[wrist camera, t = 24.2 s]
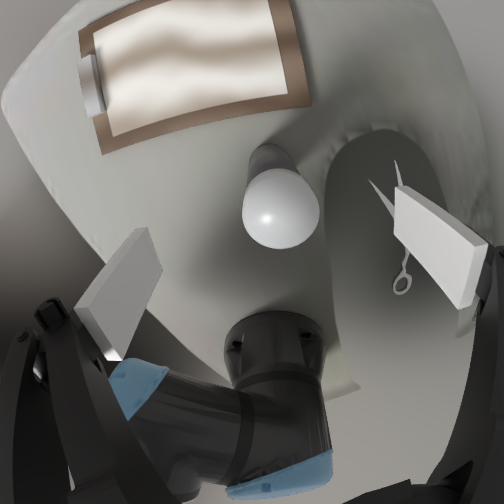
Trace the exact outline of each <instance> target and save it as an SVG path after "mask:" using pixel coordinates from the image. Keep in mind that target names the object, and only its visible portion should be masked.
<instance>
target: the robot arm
mask: <svg viewBox="0 0 504 504" xmlns="http://www.w3.org/2000/svg"><path fill="white" fill-rule="evenodd" d="M394 235H395V236H396V237H397V238H398V239H399V240H400V241H401V242H402V243H403V245H404V246H405V247H406V248H407V249H408V250H409V251H410V252H411V253H412V255H413V256H414V257H415V258H416V259H417V260H418V261H419V263H420V264H421V265H422V266H423V267H424V268H425V269H426V271H427V272H428V273H429V274H430V275H431V277H432V278H433V279H434V280H435V281H436V283H437V284H438V285H439V286H440V288H441V289H442V290H443V291H444V293H445V294H446V295H447V296H448V298H449V299H450V300H451V301H452V303H453V304H454V305H455V307H456V308H457V309H458V310H459V309H462V308H465V307H467V306H470V305H471V304H472V301H473V298H474V295H475V292H476V294H477V295H478V296H479V297H480V300H479V303H478V306H477V308H476V311H475V314H474V316H473V319H472V320H473V321H474V320H475V318H476V317H477V318H476V328H475V337H474V344H473V351H472V357H471V362H470V368H469V373H468V378H467V382H466V387H465V391H464V395H463V399H462V403H461V406H460V410H459V413H458V416H457V420H456V423H455V426H454V429H453V432H452V435H451V438H450V440H449V443H448V446H447V448H446V451H445V453H444V456H443V458H442V459H441V461H440V462H439V463H438V465H437V466H436V468H435V469H434V471H433V473H432V474H431V476H430V477H429V479H428V481H427V483H426V484H413V485H411V482H410V479H408V480H405V481H403V482H399V483H397V484H394V485H391V486H387V487H384V488H381V489H378V490H374V491H371V492H367V493H364V494H362V495H360V496H358V497H356V498H354V499H352V500H349V501H347V502H345V503H343V504H504V246H497V247H494V246H493V245H491V244H490V243H489V242H488V241H487V240H485V239H484V238H483V237H482V236H480V235H478V233H476V232H475V231H473V229H471V228H470V227H469V226H467V225H466V224H464V223H462V222H460V221H459V220H457V219H456V218H455V217H453V216H452V215H451V214H449V213H448V212H446V211H445V210H443V209H442V208H441V207H439V206H438V205H436V204H435V203H433V202H432V201H430V200H429V199H427V198H426V197H424V196H422V195H421V194H419V193H418V192H416V191H415V190H413V189H411V188H410V187H408V186H399V187H395V217H394ZM162 272H163V269H162V266H161V264H160V261H159V259H158V256H157V253H156V250H155V248H154V245H153V242H152V239H151V237H150V234H149V231H148V228H147V227H144V228H139V229H135V230H134V231H133V232H132V233H131V235H130V236H129V237H128V238H127V239H126V240H125V242H124V243H123V244H122V245H121V246H120V248H119V249H118V250H117V251H116V253H115V254H114V255H113V256H112V258H111V259H110V260H109V261H108V263H107V264H106V265H105V267H104V268H103V269H102V270H101V271H100V273H99V274H98V276H97V277H96V278H95V280H94V281H93V282H92V283H91V284H90V285H89V286H88V288H87V289H86V290H85V293H83V294H82V296H81V297H80V299H79V300H78V301H77V303H76V304H75V306H74V307H73V308H72V310H71V311H70V313H69V314H68V313H67V311H66V310H65V308H64V306H63V305H62V303H61V301H60V299H59V298H58V297H53V298H50V299H48V300H46V301H44V302H43V303H42V304H40V305H39V307H38V308H37V309H36V310H35V312H34V316H35V318H36V319H37V321H38V323H39V324H40V326H41V327H42V328H43V330H44V331H45V332H44V333H41V334H37V333H36V331H35V330H34V329H33V327H32V326H27V327H24V328H22V329H20V330H19V331H18V332H17V334H16V335H15V337H14V339H13V341H12V344H11V347H10V350H9V353H8V357H7V360H6V364H5V367H4V371H3V375H2V378H1V382H0V504H187V503H190V502H192V501H194V500H195V499H196V498H197V496H198V494H199V491H200V488H201V485H202V483H203V482H205V483H212V484H219V485H225V486H227V488H225V491H226V492H227V496H228V497H229V498H231V499H239V500H257V499H268V498H276V497H283V496H289V495H294V494H298V493H303V492H306V491H310V490H313V489H316V488H319V487H321V486H323V485H325V484H326V483H327V482H328V481H330V479H331V477H332V475H333V463H332V453H333V449H332V445H331V439H330V433H329V427H328V422H327V416H326V411H325V405H324V400H323V395H322V389H321V378H322V373H323V368H324V363H325V357H326V344H325V339H324V335H323V332H322V330H321V329H320V327H319V326H318V325H317V324H316V323H315V322H313V321H312V320H310V319H309V318H307V317H305V316H302V315H299V314H295V313H290V312H266V313H261V314H257V315H254V316H251V317H248V318H246V319H244V320H242V321H241V322H239V323H238V324H236V325H235V326H234V327H233V328H232V329H231V330H230V332H229V333H228V335H227V337H226V340H225V346H224V361H225V364H226V367H227V371H228V374H229V377H230V380H231V383H232V386H233V389H230V388H227V387H223V386H219V385H216V384H213V383H209V382H206V381H202V380H200V379H196V378H193V377H190V376H187V375H184V374H181V373H178V372H175V371H172V370H170V369H169V368H168V367H166V366H163V367H161V366H158V365H155V364H152V363H148V362H146V361H143V360H140V359H136V358H129V359H126V360H124V361H123V358H124V356H125V354H126V351H127V349H128V346H129V344H130V341H131V339H132V337H133V335H134V332H135V330H136V328H137V325H138V323H139V321H140V319H141V316H142V314H143V312H144V310H145V308H146V305H147V303H148V301H149V299H150V297H151V295H152V293H153V290H154V288H155V286H156V284H157V282H158V280H159V278H160V276H161V274H162ZM100 351H101V352H102V353H103V354H104V356H105V357H106V358H107V360H112V361H122V362H121V363H120V364H119V365H118V366H117V367H116V369H115V370H114V371H113V373H112V374H111V376H110V377H109V379H108V378H107V375H106V373H105V370H104V367H103V365H102V363H101V361H100V360H99V359H98V355H99V353H100ZM33 371H34V372H35V373H36V374H37V376H38V377H39V378H40V379H39V382H37V381H36V380H35V377H34V374H33ZM68 466H69V469H70V472H71V475H72V478H73V481H74V484H75V489H74V490H73V491H71V486H70V479H69V472H68Z"/></svg>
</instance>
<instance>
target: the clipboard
mask: <svg viewBox="0 0 504 504" xmlns="http://www.w3.org/2000/svg"><path fill="white" fill-rule="evenodd" d="M78 34H79V43H80V51H81V59H80V60H79V61H77V66H78V72H79V78H80V84H81V90H82V95H83V100H84V105H85V109H86V114H87V118H92V117H93V121H94V126H95V130H96V134H97V137H98V141H99V145H100V149H101V152H102V155H104V154H107V153H109V152H112V151H115V150H118V149H120V148H123V147H126V146H129V145H132V144H135V143H138V142H141V141H144V140H147V139H150V138H154V137H157V136H160V135H164V134H167V133H171V132H174V131H178V130H182V129H185V128H189V127H193V126H197V125H201V124H206V123H210V122H214V121H219V120H224V119H229V118H234V117H239V116H244V115H250V114H256V113H262V112H269V111H275V110H283V109H291V108H300V107H309V106H311V102H310V96H309V91H308V85H307V80H306V74H305V69H304V64H303V59H302V54H301V49H300V45H299V40H298V36H297V32H296V27H295V23H294V19H293V15H292V11H291V7H290V4H289V0H141V1H139V2H136V3H134V4H131V5H129V6H127V7H124V8H122V9H120V10H118V11H116V12H114V13H112V14H109V15H107V16H105V17H103V18H101V19H100V20H98V21H96V22H94V23H92V24H90V25H88V26H87V27H85V28H83V29H81V30H80V31H78Z"/></svg>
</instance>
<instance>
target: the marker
mask: <svg viewBox="0 0 504 504" xmlns="http://www.w3.org/2000/svg"><path fill="white" fill-rule="evenodd" d="M319 214H320V210H319V204H318V201H317V198H316V196H315V194H314V193H313V191H312V190H311V188H310V186H309V185H308V183H307V182H306V181H305V179H303V178H302V177H301V175H300V174H299V172H298V170H297V169H296V167H295V166H294V164H293V163H292V161H291V160H290V158H289V156H288V155H287V153H286V152H285V151H284V150H283V149H282V148H281V147H279V146H277V145H274V144H264V145H261V146H259V147H258V148H256V149H255V150H254V152H253V153H252V155H251V157H250V162H249V171H248V180H247V189H246V191H245V195H244V201H243V209H242V218H243V223H244V226H245V228H246V230H247V232H248V233H249V235H250V236H251V237H252V238H253V239H254V240H255V241H257V242H258V243H260V244H262V245H264V246H266V247H269V248H274V249H285V248H290V247H294V246H296V245H299V244H300V243H302V242H304V241H305V240H306V239H307V238H308V237H309V236H310V235H311V234H312V233H313V231H314V230H315V228H316V226H317V224H318V221H319Z"/></svg>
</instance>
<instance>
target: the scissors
mask: <svg viewBox="0 0 504 504" xmlns="http://www.w3.org/2000/svg"><path fill="white" fill-rule="evenodd" d="M395 165H396V171H397V179H398V187H399V186H403V184H402V180H401V176H400V172H399V170H398V167H397V164H396V161H395ZM369 181H370V180H369ZM371 184H372V186H373V187H374V188H375V190H376V191H377V193H378V194H379V196H380V198H381V199H382V201H383V203H384V204H385V206H386V207H387V209H388V210H389V212H390V214H391V215H392V217H393V219H394V217H395V207H394V206H393V205H392V203H391V202H390V201H389V200H388V199H387V198H386V197H385V196H384V195H383V194H382V193H381V192H380V190H379V189H378V188H377V187H376V186H375V185H374V184H373V183H372V182H371ZM409 254H410V251H409V250H408V249H407V248H406V247H405V246H404V255H403V258H402V259H401V261H400V262H401V269H400V270H399V272H398V273H397V274H396V276H395V277H394V279H393V281H392V289H393V291H394V293H395V294H398V295H402V294H404V293H405V292H407V291H408V289H409V288H410V286H411V282H412V276H411V275H410V274H409V273H407V272H406V268H405V266H406V262H407V259H408V256H409ZM402 277H406V281H407V282H406V285H405V287H404V288H402V289H400V290H396V288H395V286H396V283H397V281H398V280H399V279H401V278H402Z"/></svg>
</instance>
